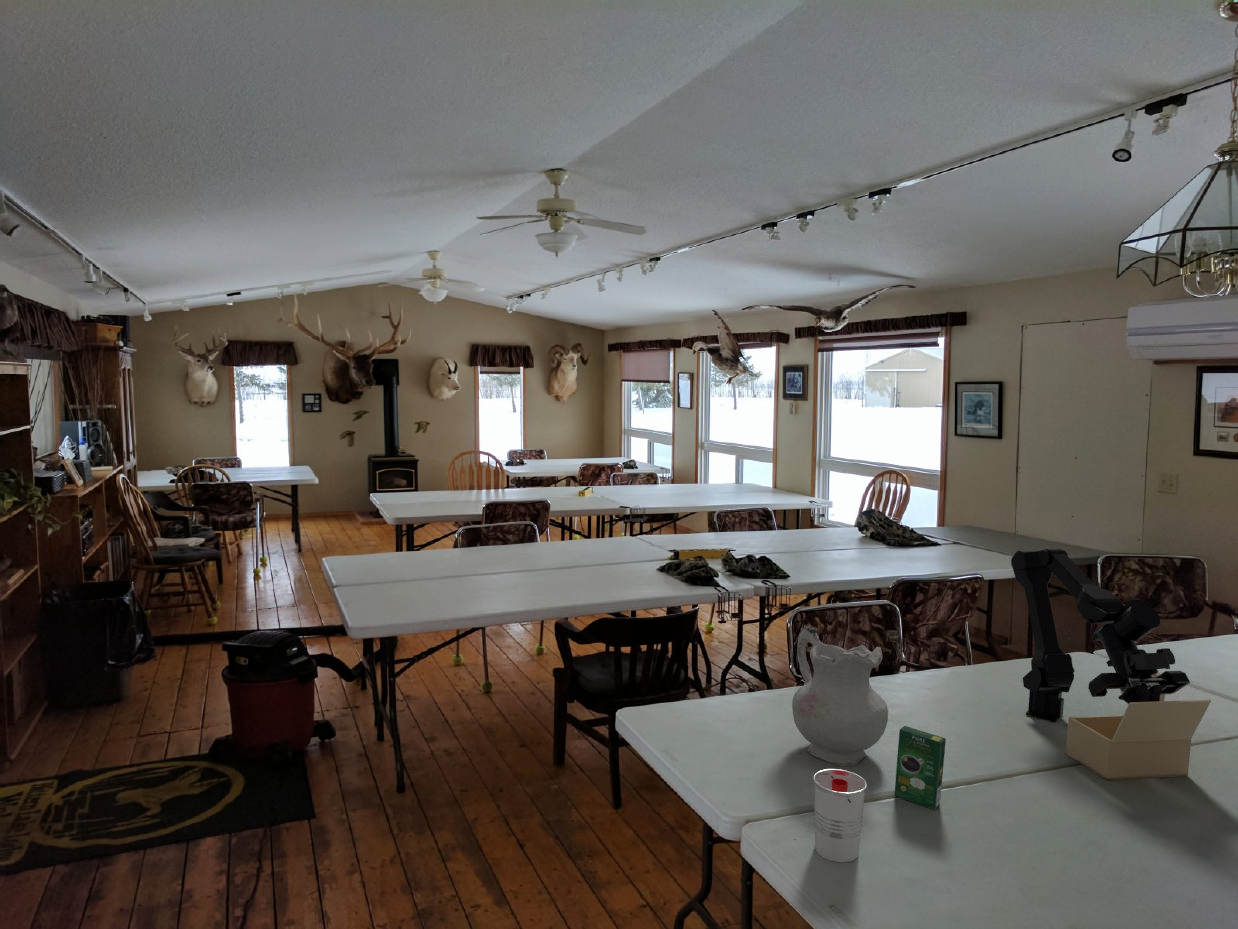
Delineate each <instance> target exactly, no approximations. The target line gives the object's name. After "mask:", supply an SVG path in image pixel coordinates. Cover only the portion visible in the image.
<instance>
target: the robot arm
mask: <svg viewBox="0 0 1238 929" xmlns="http://www.w3.org/2000/svg"><path fill="white" fill-rule="evenodd" d="M1010 565H1011V567H1012V570H1013V571H1012V572H1013V574H1014V577H1015V579H1016V580H1017V582H1018V583H1019V584H1020V585H1021V587H1022V588H1023V589H1024V591H1025V599H1026V603H1027V608H1028V614H1029V618H1030V623H1031V624H1030V625H1031V630H1032V635H1033V640H1034V644H1035V651H1034V653H1033V656H1032V657H1031V660H1030V664H1031V669H1030V670H1029V672H1027V673H1026V674H1025V675H1024V676H1023V677H1022V685H1023V687H1024V688H1025V689H1027V690H1029V693H1028V694H1029V695H1028V706H1027V707H1028V709H1027V711H1025V715H1026V716H1029V717H1033V718H1036V719H1040V720H1041V719H1042V720H1045V721H1050V722H1052V723H1056V722H1057V721H1058V720H1059V719H1060V718H1062V717H1063V716H1064V705H1065V699H1064V697H1062V695H1063V693H1069V692H1070V690H1071V687H1072V684H1073V682H1074V680H1075V672H1076V671H1075V668H1074V665H1073V660H1072V656H1071V654H1070V653H1065V652H1064V651H1063V650H1062V649H1061V648H1060V643H1059V639H1058V633H1057V629H1056V624H1055V623H1056V622H1055V619H1054V614H1053V608H1052V602H1051V598H1050V594H1049V587H1048V585H1049V583H1050V580H1051V578H1052V576H1053V575H1054V576H1055V578H1057V579H1058V580H1059V581H1060V583H1061V584H1062V585H1063V586H1064V587H1065V588H1066V589H1067V591H1068V592H1069V593H1070V594H1071V595H1072V596H1073V598H1074V599H1075V600H1076V605H1075V606H1076V609H1077V610H1078V612H1079V614H1080V615H1081V616H1082V618H1083V619H1084V621H1086V623H1088V624H1104V625H1103V626H1102V627H1095V629H1094V633H1093V634H1092V637H1091V641H1093V642H1094V641H1096V642H1097V641H1098V642H1099V641H1100V642H1101V644H1102V646H1103V648H1104V650H1105V652H1106V654H1107V656H1108V660H1107V661H1106V662H1105V663H1106V665H1107V666H1108V667H1110V668H1111V667H1113V669H1114V671H1115V672H1102V673H1100V674H1098V675H1097V676H1096V677H1094V678H1093V679H1091V680H1090V681H1089V682H1088V687H1087V688H1088V691H1089V693H1090V695H1091V697H1092V698H1096V697H1097V698H1099V697H1100V698H1101V697H1105V696H1107V693H1108V690H1118V689H1119V690H1120V693H1121V694H1120V695H1119V696H1118V697H1117V698H1118V699H1119V700H1121V701H1124V702H1125V703H1126V704H1127V705H1129V703H1130V702H1157V701H1160V695H1161V694H1165V695H1173V694H1176V693H1177V692H1178V691H1180V690H1181V689H1183V688H1185V687H1186V686H1187V685H1189V684H1190V683H1191V681H1190V680H1189V677H1188V675H1187V674H1186V672H1184V671H1182V670H1170V669H1171V665H1175V664H1176V659H1175V658H1176V657H1175V654H1174V653H1173V652H1172V650H1171V649H1170V648H1164V647H1162V648H1157V649H1156V651H1155V652H1147V651H1146V650H1144V648H1143V649H1142V648H1141V649H1140V648H1138V645H1137V644H1136V641H1137V642H1138V641H1141V640H1142V639H1144V638H1145V636H1147V635H1148V634H1149V633H1151V632H1153V631H1154V630H1155V629H1156V628H1157V627H1159V625H1160V624H1161V618H1160V616H1159V615H1160V614H1158V612H1157V611H1155V610H1154V609H1153V608H1152V607H1151V606H1149V605H1148V604H1145V603H1143V601H1142V599H1140V598H1131V599H1130V600H1128V602H1127V603H1126V604H1124V603H1123V602H1122V601H1121V598H1119V597H1118V596H1117V595H1115V594H1114V593H1113V592H1111V591H1109V590H1107V589H1104V588H1102V587H1100V586H1098V585H1097V584H1095V583H1094V582H1093V581H1092V580H1091V578H1089V577H1088V576H1087V575H1086V573H1085V572H1083V571H1082V569H1080V567H1079V566H1077V564H1076V563H1075V562H1074V561H1073V560H1072V559H1071V558H1070V557H1069V555H1068V552H1067V551H1066V550H1064V549H1062V548H1045V549H1042V550H1017V551H1015V553H1014V554H1013V556H1012V557H1011V558H1010ZM1162 669H1165V671H1164V672H1161V673H1160V674H1159V671H1158V670H1162ZM1156 673H1158V674H1159V676H1158V677H1156V678H1152V676H1151V675H1155V674H1156Z"/></svg>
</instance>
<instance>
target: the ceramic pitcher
mask: <svg viewBox="0 0 1238 929" xmlns="http://www.w3.org/2000/svg"><path fill="white" fill-rule="evenodd" d="M817 631H818V628H817V627H815V626H813V627H812V626H810V625H803V627H802V628H801V631H800V632H799V635H798V638H797V639H798V640H797V647H796V648H797V650H796V651H797V653H796V654H797V661H798V664H799V671H800V673H801V674H802V676H803V677H802V678H803V679H804V684H803V685H801V687H799V688H798V689H797V690H796V691H795V693H794V695H793V698H792V701H791V702H792V703H791V708H792V715H793V722H794V724H795V727H796V728H797V730H798V731H799V733H800V734H801V735H802V737H803V738H804V739H805V741H807V742H808V743H809V744H808V745H807V746H808V747H807V750H808V754H810V755H812V756H814V757H816V758H818V759H820V760H822V761H826V762H828V763H830V764H834V765H835V766H839V767H849V768H850V767H851V768H852V767H854V766H856V765H857V764H858V763H859V762H861V760H863V758H864V757H865V756H866V752H865V750H868V749H870V748H872V747H873V746H875V744H877V742H879V741H880V740H881V738H882V736H883V735H884V734H885V731H886V728H887V725H888V721H889V709H888V704H887V703H886V701H885V699H883V697H882V696H881V695H880V694H879V693H878V692H877V691H875V690H874V688H872V686H871V684H870V677H871V672H872V669H874V668H877V667H878V666H880V664H881V663H882V660H883V652H882V647H880V646H876V647H875V648H874V650H872V651H871V650H869V649H868V648H867V647H866V646H865V645H863V644H862V645H859V646H855V647H854V646H853V647H851V648H849V649H845V648H843V647H841V646H838V645H835V644H825V643H823V642H822V641H821V640H820V638H819V635H818V632H817ZM808 643H809V644H811V646H812V647H811V649H810V651H809V657H810V660H811V663H812V668H813V676H812V673H811V668H810V665H809V663H808V660H807V655H806V651H807V646H808Z"/></svg>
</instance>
